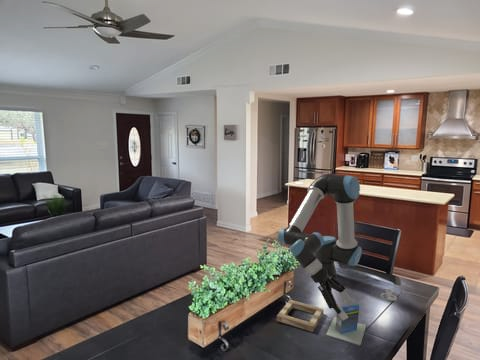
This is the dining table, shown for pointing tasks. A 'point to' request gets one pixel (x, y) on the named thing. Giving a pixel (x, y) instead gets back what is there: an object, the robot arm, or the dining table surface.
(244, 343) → the dining table surface
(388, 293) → the teacup and saucer
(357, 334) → the sage board
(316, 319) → the oak socket frame
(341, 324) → the label tape box
